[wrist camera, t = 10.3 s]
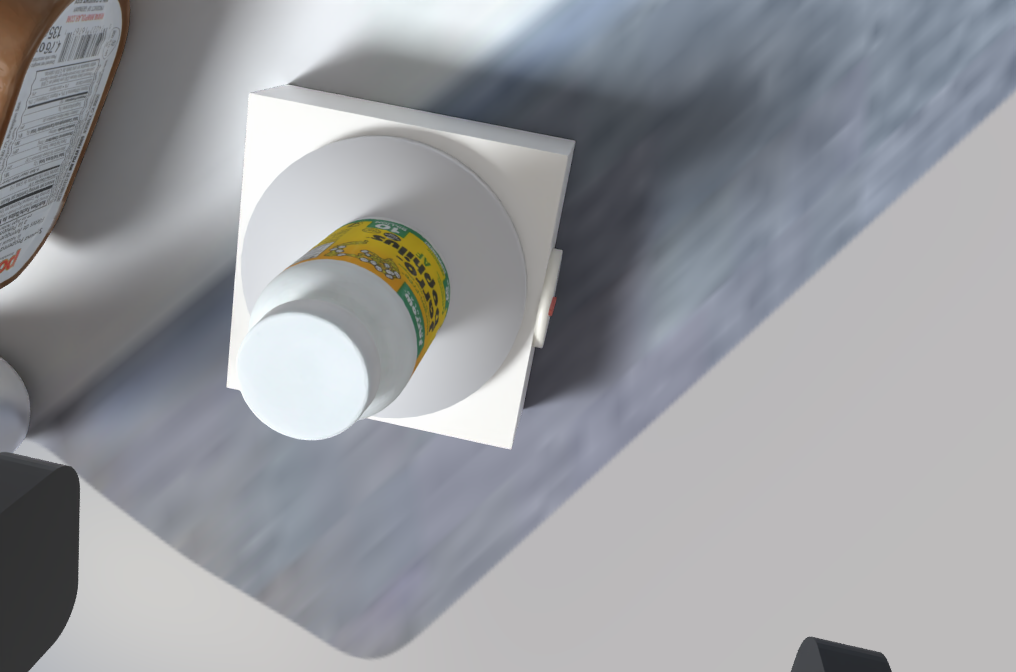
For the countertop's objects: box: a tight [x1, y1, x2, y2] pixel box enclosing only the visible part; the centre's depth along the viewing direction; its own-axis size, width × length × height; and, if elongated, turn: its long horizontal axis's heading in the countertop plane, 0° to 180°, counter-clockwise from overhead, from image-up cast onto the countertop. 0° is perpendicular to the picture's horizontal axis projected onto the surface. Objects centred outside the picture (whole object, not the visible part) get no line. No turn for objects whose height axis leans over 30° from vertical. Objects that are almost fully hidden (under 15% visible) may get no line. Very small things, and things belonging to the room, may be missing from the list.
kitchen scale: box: [227, 84, 576, 449], centre depth 38 cm, size 12×12×5 cm
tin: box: [0, 0, 130, 289], centre depth 37 cm, size 15×3×8 cm, turn 151°
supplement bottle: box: [236, 217, 452, 440], centre depth 32 cm, size 5×5×10 cm
